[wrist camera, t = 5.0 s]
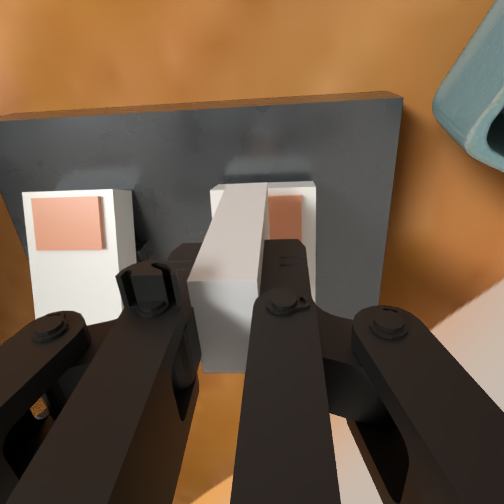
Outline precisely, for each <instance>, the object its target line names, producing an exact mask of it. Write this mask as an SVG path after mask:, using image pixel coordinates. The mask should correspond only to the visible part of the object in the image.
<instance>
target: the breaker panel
mask: <svg viewBox="0 0 504 504" xmlns="http://www.w3.org/2000/svg"><path fill="white" fill-rule="evenodd" d="M403 98H404V97H401V96H399V95H396V94H393V93H391V92H388V91H378V92H361V93H344V94H328V95H311V96H295V97H278V98H262V99H245V100H229V101H212V102H195V103H179V104H162V105H146V106H129V107H113V108H96V109H80V110H63V111H46V112H30V113H13V114H9V115H4V116H0V192H1V194H2V197H3V199H4V202H5V204H6V207H7V209H8V211H9V214H10V216H11V219H12V221H13V224H14V226H15V229H16V231H17V234H18V236H19V239H20V241H21V243H22V246H23V248H24V251H25V253H26V256H27V258H28V261H29V253H28V244H27V235H26V226H25V216H24V207H23V198H22V192H44V191H71V190H99V189H118V190H130V191H132V205H133V219H134V233H135V247H136V262H137V263H139V262H142V261H148V260H165V261H167V259H168V257H169V255H170V253H171V252H172V251H173V250H174V249H175V248H177V247H178V246H179V245H181V244H182V243H203V241H204V238H205V236H206V234H207V231H208V229H209V226H210V224H211V221H212V212H211V199H210V190H211V189H212V188H214V187H215V186H217V185H218V184H240V183H263V182H267V183H270V182H297V181H313V182H314V184H315V186H316V281H315V304H316V305H317V306H318V307H319V308H321V309H322V310H323V311H325V312H327V313H329V314H332V315H335V316H339V317H342V318H347V319H352V320H353V319H354V316H355V315H356V314H357V313H358V312H359V311H360V310H362V309H364V308H367V307H370V306H378V304H379V296H380V287H381V279H382V271H383V263H384V255H385V246H386V238H387V230H388V222H389V213H390V205H391V197H392V189H393V181H394V172H395V164H396V156H397V148H398V140H399V131H400V123H401V115H402V107H403Z"/></svg>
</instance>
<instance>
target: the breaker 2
mask: <svg viewBox="0 0 504 504" xmlns="http://www.w3.org/2000/svg"><path fill="white" fill-rule="evenodd" d="M267 184H268V205H269V225H270V239H298V240H299V241H300V242H301V243H302V244H303V245H304V246H305V247H306V254H307V262H308V270H309V279H310V287H311V295H312V298H313V301H314V302H315V281H316V186H315V184H314V182H313V181H297V182H270V183H267ZM226 185H227V184H218V185H217V186H215V187H214V188H212V189H211V190H210V199H211V212H212V219H213V216H214V214H215V212H216V209H217V207H218V204H219V202H220V199H221V197H222V194H223V192H224V190H225V187H226Z"/></svg>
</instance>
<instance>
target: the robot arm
mask: <svg viewBox="0 0 504 504" xmlns="http://www.w3.org/2000/svg"><path fill="white" fill-rule="evenodd" d="M115 278H116V281H117V285H118V288H119V291H120V295H121V298H122V302H123V305H124V309H123V310H122V312H121V314H120V315H119V317H118V318H117V319H114V320H110V321H106V322H101V323H97V324H92V325H88V326H87V325H86V322H85V319H84V318H83V316H82V315H81V314H80V313H78V312H75V311H57V312H52V313H49V314H47V315H44V316H42V317H40V318H37V319H36V320H34V321H33V322H31V323H29V324H28V325H26V326H25V327H24V328H22V329H21V330H20V331H19V332H17V333H16V334H15V335H14V336H12V337H11V338H10V339H9V340H7V341H6V342H5V343H3V344H2V345H1V346H0V504H172V502H173V498H174V494H175V490H176V485H177V481H178V477H179V473H180V469H181V464H182V460H183V456H184V452H185V448H186V443H187V439H188V435H189V431H190V427H191V422H192V418H193V414H194V410H195V406H196V401H197V397H198V393H199V381H198V375H197V370H198V366H199V363H200V359H201V362H202V368H203V373H245V380H244V388H243V397H242V405H241V414H240V422H239V431H238V439H237V448H236V457H235V465H234V474H233V482H232V491H231V499H230V504H341V501H340V492H339V485H338V477H337V469H336V461H335V453H334V445H333V438H332V430H331V423H330V414H329V413H331V414H335V415H337V416H341V417H344V418H346V420H347V424H348V426H349V429H350V431H351V433H352V435H353V437H354V440H355V442H356V444H357V446H358V448H359V451H360V453H361V455H362V457H363V460H364V462H365V464H366V466H367V469H368V471H369V473H370V475H371V477H372V480H373V482H374V484H375V486H376V489H377V491H378V493H379V495H380V497H381V500H382V502H383V504H504V412H503V411H502V410H501V409H500V408H499V407H498V406H497V404H495V402H494V401H493V400H492V399H491V398H490V397H489V396H488V395H487V394H486V393H485V391H484V390H483V389H482V388H481V387H480V386H479V385H478V384H477V382H476V381H475V380H474V379H473V378H472V377H471V376H470V375H469V374H468V372H466V370H465V369H464V368H463V367H462V366H461V365H460V364H459V363H458V361H457V360H456V359H455V358H454V357H453V356H452V355H451V354H450V353H449V352H448V350H447V349H446V348H445V347H444V346H443V345H442V344H441V343H440V342H439V341H438V339H437V338H436V337H435V336H434V335H433V334H432V333H431V332H430V331H429V329H428V328H427V327H426V326H425V325H424V324H423V323H422V322H421V321H420V320H419V319H418V318H417V317H415V316H414V315H413V314H411V313H410V312H407V311H405V310H403V309H400V308H397V307H392V306H386V305H381V306H370V307H367V308H364V309H362V310H360V311H359V312H358V313H357V314H356V315H355V316H354V319H353V320H352V319H347V318H342V317H339V316H335V315H332V314H329V313H327V312H325V311H323V310H322V309H321V308H319V307H318V306H317V305H316V304H315V302H314V301H313V298H312V295H311V287H310V279H309V270H308V262H307V254H306V247H305V246H304V245H303V244H302V243H301V242H300V241H299V240H298V239H270V225H269V205H268V184H267V182H263V183H240V184H227V185H226V187H225V190H224V192H223V194H222V197H221V199H220V202H219V204H218V207H217V209H216V212H215V214H214V216H213V219H212V221H211V224H210V226H209V229H208V231H207V234H206V236H205V238H204V241H203V243H182V244H181V245H179V246H178V247H177V248H175V249H174V250H173V251H172V252H171V253H170V255H169V257H168V259H167V261H165V260H148V261H142V262H139V263H135V264H132V265H130V266H128V267H126V268H124V269H122V270H121V271H120V272H119V273H118V274H117V275H116V276H115ZM40 397H41V398H42V400H43V402H44V404H45V406H46V409H45V410H44V411H43V412H42V413H40V414H39V415H38V416H35V417H34V416H33V414H32V412H31V411H30V408H31V407H32V406H33V405H34V404H35V403H36V402H37V401H38V399H39V398H40Z"/></svg>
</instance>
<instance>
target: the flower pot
mask: <svg viewBox="0 0 504 504" xmlns="http://www.w3.org/2000/svg"><path fill="white" fill-rule="evenodd" d="M432 108H433V114H434V117H435V118H436V120H437V122H438V123H439V124H440V125H441V126H442V127H443V128H444V129H445V130H446V132H447V133H448V134H449V135H450V136H451V137H452V138H453V139H454V140H455V141H456V142H457V143H458V144H459V145H460V146H461V147H462V148H463V149H464V150H465V151H466V152H467V153H468V154H469V155H470V156H471V157H473V158H474V159H476V160H478V161H480V162H482V163H484V164H486V165H488V166H490V167H492V168H495V169H497V170H499V171H501V172H503V173H504V0H496V1H495V2H494V4H493V5H492V7H491V9H490V10H489V12H488V13H487V15H486V16H485V18H484V19H483V21H482V22H481V24H480V26H479V27H478V29H477V30H476V32H475V33H474V35H473V36H472V38H471V39H470V41H469V42H468V44H467V45H466V47H465V48H464V50H463V51H462V53H461V54H460V56H459V58H458V59H457V61H456V62H455V64H454V65H453V67H452V68H451V70H450V71H449V73H448V74H447V76H446V77H445V79H444V80H443V82H442V83H441V85H440V86H439V88H438V90H437V92H436V94H435V96H434V99H433V105H432Z"/></svg>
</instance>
